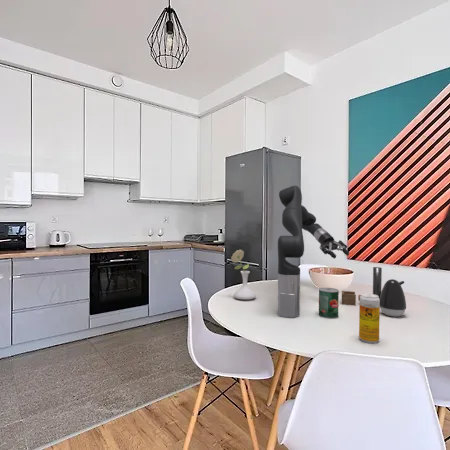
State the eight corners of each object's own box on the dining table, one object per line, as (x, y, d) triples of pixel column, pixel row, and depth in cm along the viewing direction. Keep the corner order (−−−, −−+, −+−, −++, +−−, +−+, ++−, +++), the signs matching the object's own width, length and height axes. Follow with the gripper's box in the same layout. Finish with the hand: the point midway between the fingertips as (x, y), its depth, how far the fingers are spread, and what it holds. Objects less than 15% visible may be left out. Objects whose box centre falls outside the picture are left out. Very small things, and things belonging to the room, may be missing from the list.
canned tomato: (338, 319, 126) (338, 292, 126) (317, 317, 129) (318, 290, 128) (338, 314, 133) (338, 288, 133) (319, 312, 136) (319, 287, 136)
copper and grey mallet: (396, 306, 143) (397, 269, 143) (358, 303, 149) (359, 267, 148) (395, 305, 147) (395, 268, 147) (358, 301, 152) (358, 266, 152)
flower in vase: (250, 295, 166) (251, 248, 165) (259, 300, 155) (260, 250, 155) (227, 296, 162) (228, 248, 161) (235, 302, 151) (235, 250, 151)
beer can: (359, 342, 102) (360, 296, 102) (358, 336, 108) (359, 292, 108) (380, 345, 100) (380, 298, 100) (378, 338, 106) (378, 294, 106)
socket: (355, 305, 147) (355, 295, 147) (342, 304, 149) (342, 293, 149) (354, 301, 154) (354, 291, 154) (341, 300, 156) (341, 290, 156)
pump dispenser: (412, 318, 129) (413, 281, 129) (389, 319, 127) (390, 281, 127) (395, 311, 139) (395, 276, 139) (373, 312, 137) (374, 277, 137)
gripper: (314, 234, 173) (333, 252, 161) (335, 230, 178) (354, 248, 165) (311, 244, 177) (328, 263, 165) (331, 240, 182) (350, 258, 170)
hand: (341, 255), depth 165 cm, fingers open, 8 cm apart
